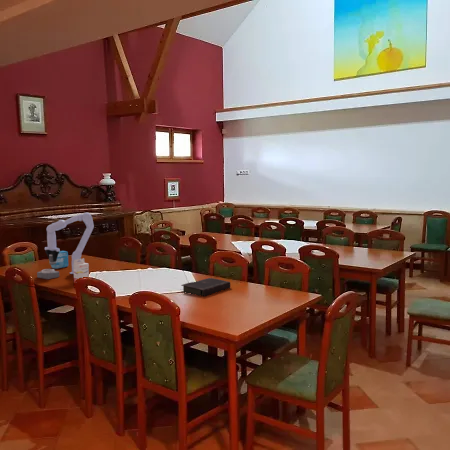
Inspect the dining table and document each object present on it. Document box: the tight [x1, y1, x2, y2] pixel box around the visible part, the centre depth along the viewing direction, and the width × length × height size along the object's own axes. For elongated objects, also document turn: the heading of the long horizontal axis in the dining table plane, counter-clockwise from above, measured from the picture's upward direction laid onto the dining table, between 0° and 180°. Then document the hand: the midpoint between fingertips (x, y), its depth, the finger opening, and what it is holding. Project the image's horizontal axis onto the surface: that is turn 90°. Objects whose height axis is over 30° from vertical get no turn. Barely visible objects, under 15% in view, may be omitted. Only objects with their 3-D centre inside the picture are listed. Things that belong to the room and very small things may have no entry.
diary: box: [180, 277, 231, 298], centre depth 281 cm, size 19×25×5 cm
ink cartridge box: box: [73, 257, 90, 283], centre depth 309 cm, size 9×5×15 cm, turn 141°
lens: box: [48, 254, 56, 266], centre depth 331 cm, size 5×5×7 cm
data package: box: [50, 250, 69, 270], centre depth 358 cm, size 12×4×12 cm, turn 140°
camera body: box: [36, 268, 60, 280], centre depth 324 cm, size 12×9×5 cm
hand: (52, 260), depth 331 cm, fingers closed on lens, 4 cm apart
